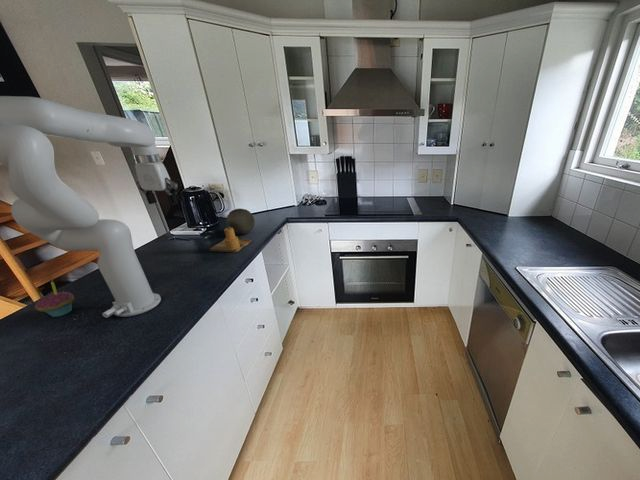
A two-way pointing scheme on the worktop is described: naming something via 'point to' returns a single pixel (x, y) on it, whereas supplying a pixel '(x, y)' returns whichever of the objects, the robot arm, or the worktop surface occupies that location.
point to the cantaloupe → (240, 221)
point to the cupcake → (55, 303)
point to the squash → (231, 239)
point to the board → (222, 248)
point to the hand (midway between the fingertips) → (163, 203)
